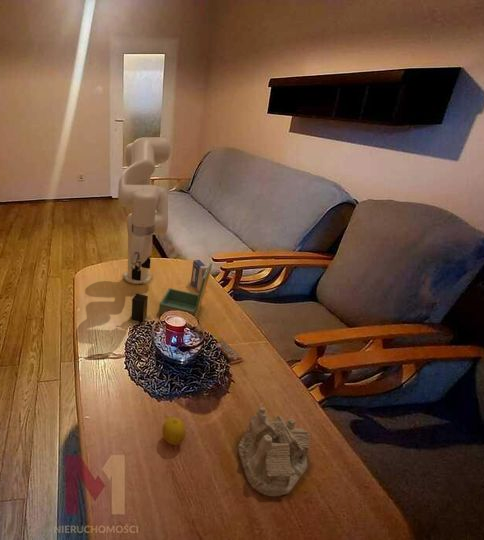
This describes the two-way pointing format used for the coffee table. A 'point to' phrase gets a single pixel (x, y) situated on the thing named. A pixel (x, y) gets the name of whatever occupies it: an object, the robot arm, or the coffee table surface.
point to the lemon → (174, 431)
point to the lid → (203, 287)
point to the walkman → (198, 273)
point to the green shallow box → (179, 302)
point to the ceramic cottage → (273, 454)
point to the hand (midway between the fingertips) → (140, 273)
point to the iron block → (139, 307)
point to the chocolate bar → (228, 353)
